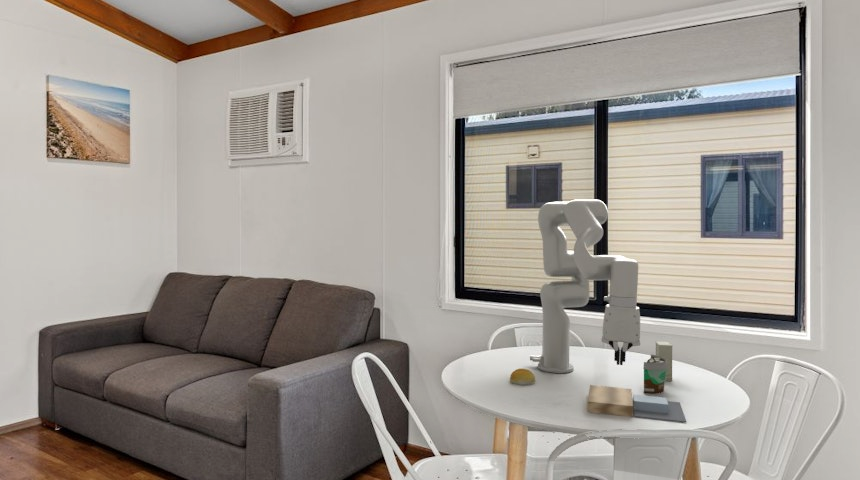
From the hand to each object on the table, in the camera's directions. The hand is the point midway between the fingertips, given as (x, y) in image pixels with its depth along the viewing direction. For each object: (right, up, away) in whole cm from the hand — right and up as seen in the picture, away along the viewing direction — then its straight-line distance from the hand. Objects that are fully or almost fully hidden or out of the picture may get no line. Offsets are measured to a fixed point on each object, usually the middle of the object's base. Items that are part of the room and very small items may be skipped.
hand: (619, 363), depth 162 cm
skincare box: (+24, -11, +27) cm, 38 cm away
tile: (+8, -12, -3) cm, 15 cm away
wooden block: (-3, -12, 0) cm, 12 cm away
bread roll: (-24, -12, +24) cm, 36 cm away
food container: (+17, -12, +14) cm, 25 cm away
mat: (+10, -12, -4) cm, 16 cm away
